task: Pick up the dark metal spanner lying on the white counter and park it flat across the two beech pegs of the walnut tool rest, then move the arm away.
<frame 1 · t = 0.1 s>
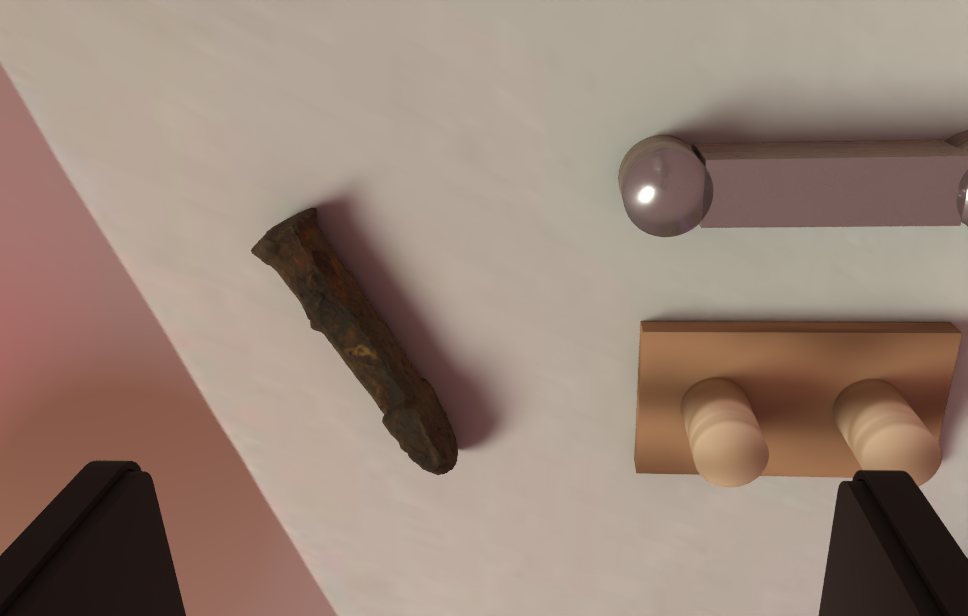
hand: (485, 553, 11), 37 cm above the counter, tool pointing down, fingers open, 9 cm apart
tool rest: (783, 395, 50), on the counter
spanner: (811, 173, 45), on the counter
dark brown lumpy bar: (385, 331, 51), on the counter
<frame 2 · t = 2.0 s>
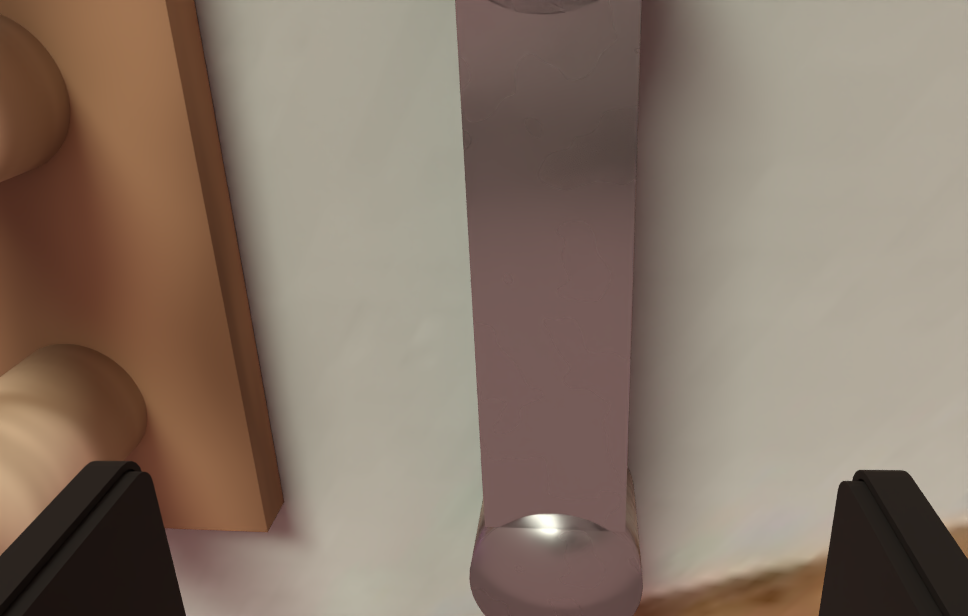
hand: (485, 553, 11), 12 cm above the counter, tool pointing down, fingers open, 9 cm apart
tool rest: (72, 243, 23), on the counter
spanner: (556, 239, 22), on the counter
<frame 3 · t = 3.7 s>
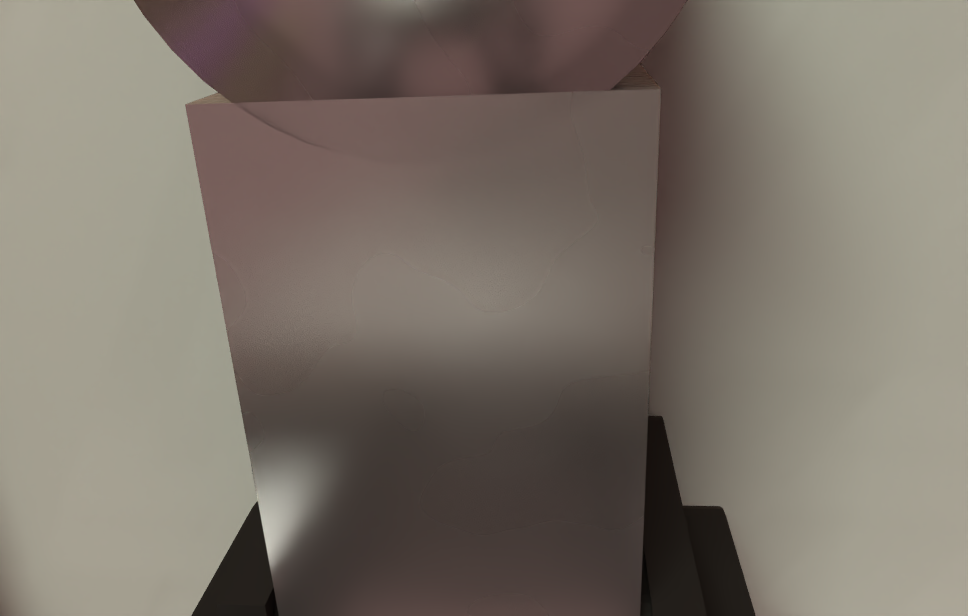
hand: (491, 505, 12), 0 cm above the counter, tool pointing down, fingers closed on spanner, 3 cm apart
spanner: (492, 497, 12), on the counter, touching gripper
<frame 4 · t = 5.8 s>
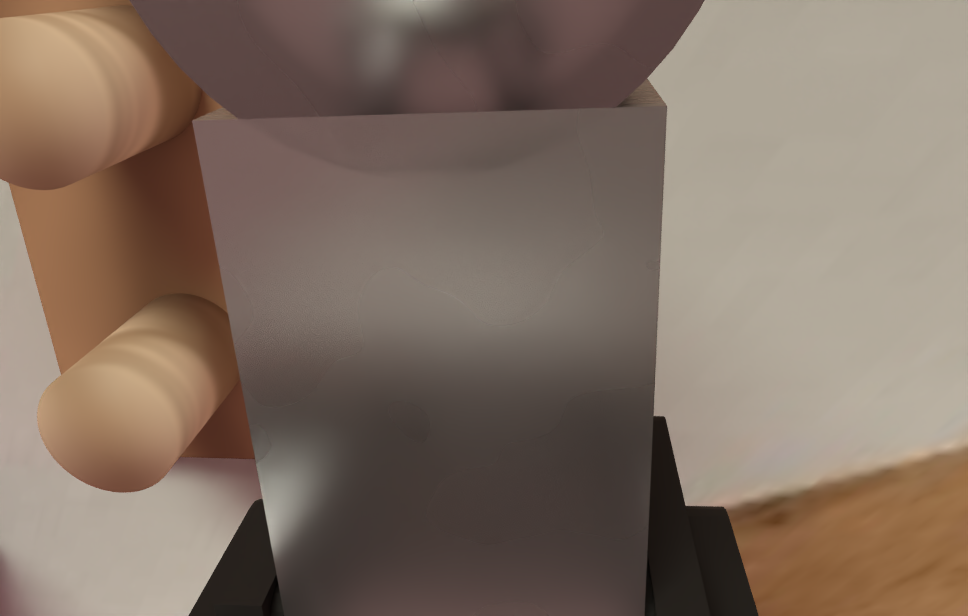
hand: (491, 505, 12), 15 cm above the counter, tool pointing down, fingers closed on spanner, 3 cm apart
tool rest: (185, 207, 27), on the counter
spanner: (495, 499, 12), point 15 cm above the counter, touching gripper
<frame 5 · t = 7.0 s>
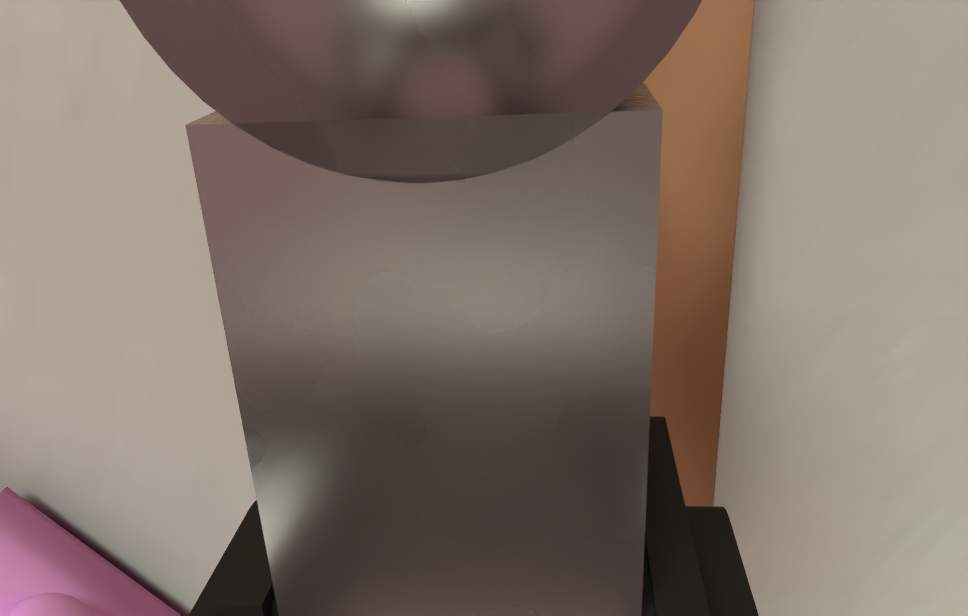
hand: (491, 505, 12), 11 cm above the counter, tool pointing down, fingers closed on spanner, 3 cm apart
tool rest: (534, 252, 22), on the counter
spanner: (493, 502, 12), point 11 cm above the counter, touching gripper
teapot: (79, 614, 30), on the counter
when the fingers open (8 cm above the counter, at t = 7.8 s): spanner stays where it is, resting on tool rest.
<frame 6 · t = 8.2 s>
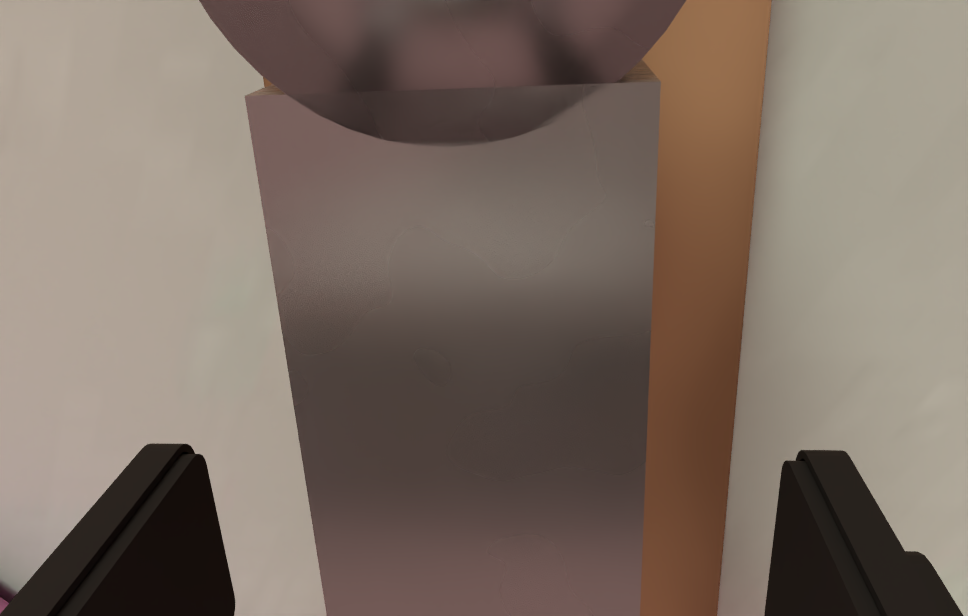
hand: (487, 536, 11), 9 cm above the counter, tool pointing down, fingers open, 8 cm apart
tool rest: (518, 295, 19), on the counter
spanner: (504, 463, 13), point 7 cm above the counter, touching tool rest
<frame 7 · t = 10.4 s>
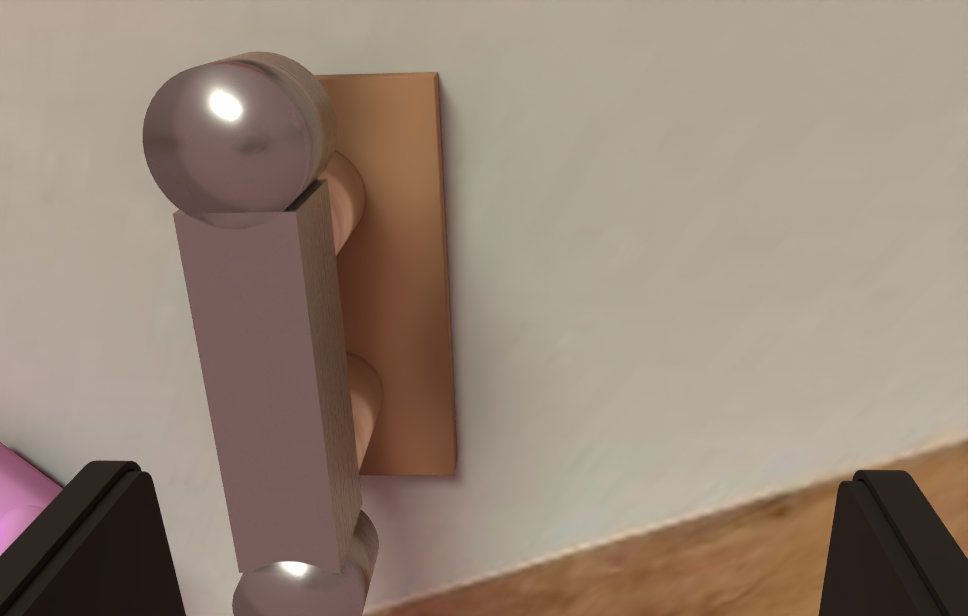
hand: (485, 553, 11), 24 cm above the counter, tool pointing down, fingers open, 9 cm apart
tool rest: (336, 284, 36), on the counter
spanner: (297, 355, 29), point 7 cm above the counter, touching tool rest
teapot: (45, 534, 42), on the counter
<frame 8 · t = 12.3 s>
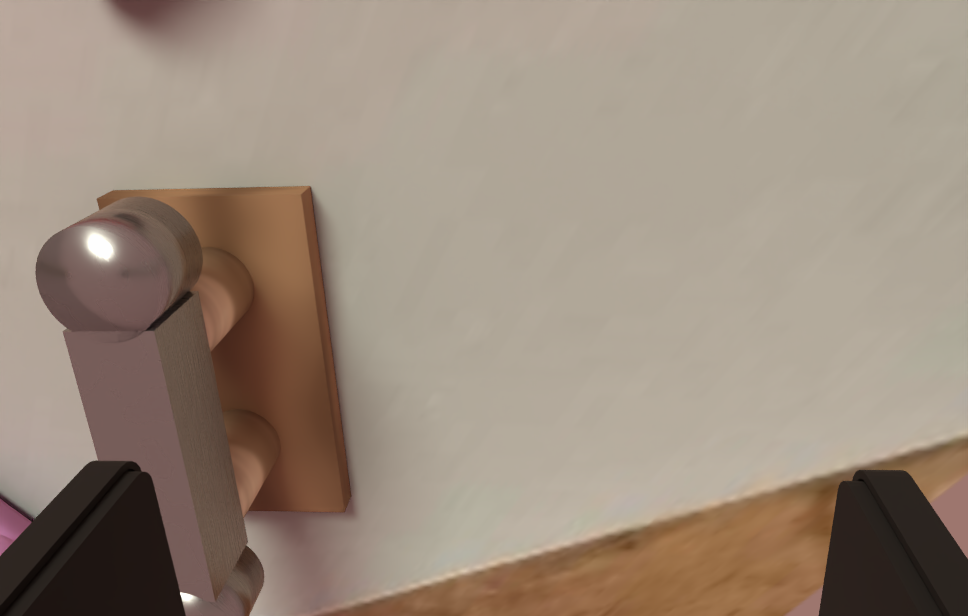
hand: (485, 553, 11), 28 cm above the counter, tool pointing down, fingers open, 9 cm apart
tool rest: (240, 354, 43), on the counter
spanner: (186, 424, 36), point 7 cm above the counter, touching tool rest
teapot: (15, 553, 50), on the counter
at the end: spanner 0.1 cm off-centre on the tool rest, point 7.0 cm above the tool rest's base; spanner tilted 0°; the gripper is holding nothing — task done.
